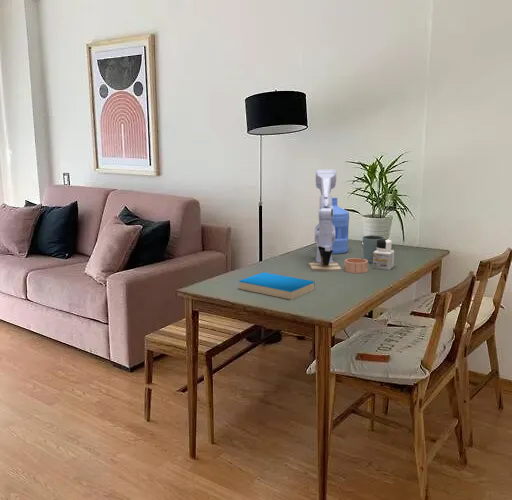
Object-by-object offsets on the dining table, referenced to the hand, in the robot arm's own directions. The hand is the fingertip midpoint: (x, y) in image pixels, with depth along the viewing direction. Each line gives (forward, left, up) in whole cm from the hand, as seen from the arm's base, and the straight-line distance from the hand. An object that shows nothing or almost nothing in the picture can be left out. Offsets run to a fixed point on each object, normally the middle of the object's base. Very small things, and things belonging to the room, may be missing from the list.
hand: (324, 263), depth 242 cm
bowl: (+6, +13, -2) cm, 15 cm away
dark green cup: (-13, +25, -3) cm, 28 cm away
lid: (0, 0, -2) cm, 2 cm away
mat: (0, 0, -2) cm, 2 cm away
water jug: (-38, +10, -3) cm, 39 cm away
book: (+33, -24, -3) cm, 41 cm away
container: (-1, +27, -3) cm, 27 cm away
